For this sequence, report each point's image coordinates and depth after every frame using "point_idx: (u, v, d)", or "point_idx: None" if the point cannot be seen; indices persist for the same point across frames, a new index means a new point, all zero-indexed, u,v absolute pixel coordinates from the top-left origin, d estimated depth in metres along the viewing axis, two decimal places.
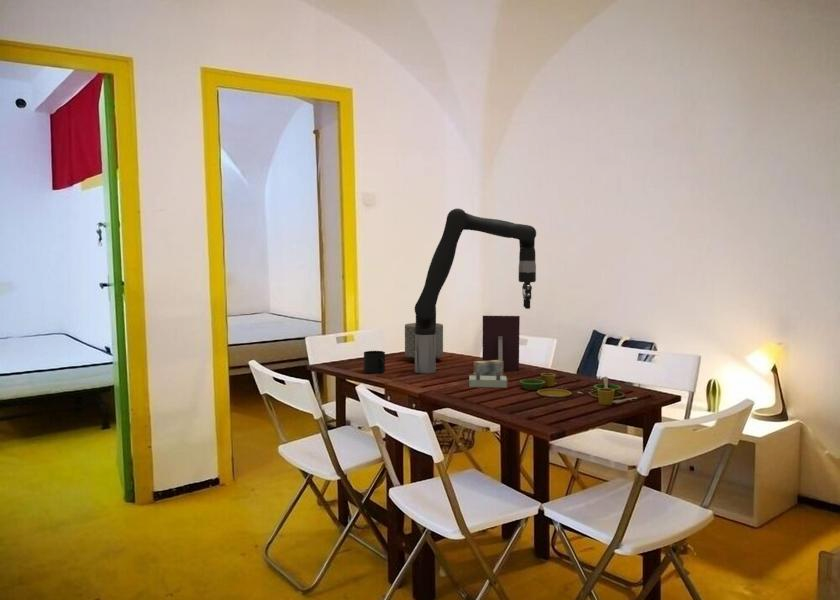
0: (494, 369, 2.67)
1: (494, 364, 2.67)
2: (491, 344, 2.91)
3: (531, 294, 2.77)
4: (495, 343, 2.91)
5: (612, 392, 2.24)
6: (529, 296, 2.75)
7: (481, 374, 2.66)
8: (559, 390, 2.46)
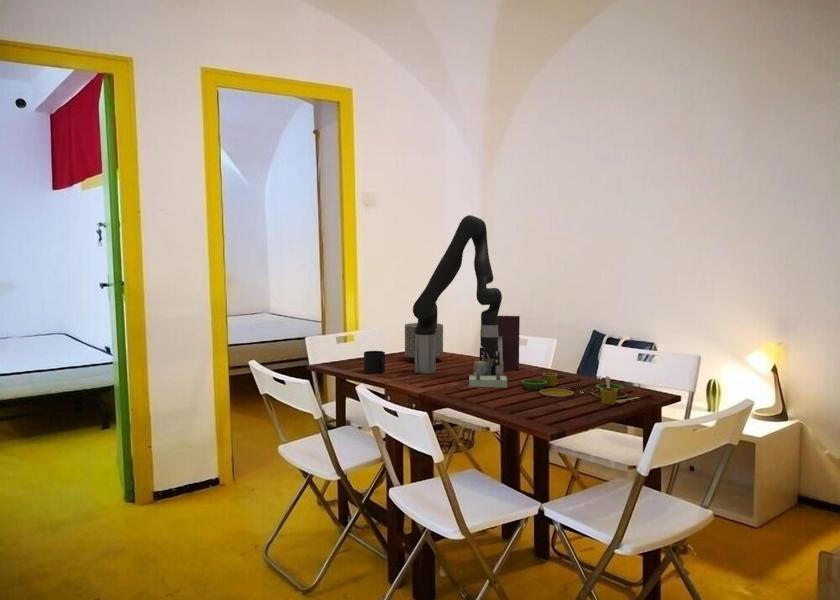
0: None
1: None
2: None
3: (482, 358, 2.72)
4: None
5: (615, 392, 2.24)
6: None
7: (481, 374, 2.66)
8: (561, 390, 2.46)
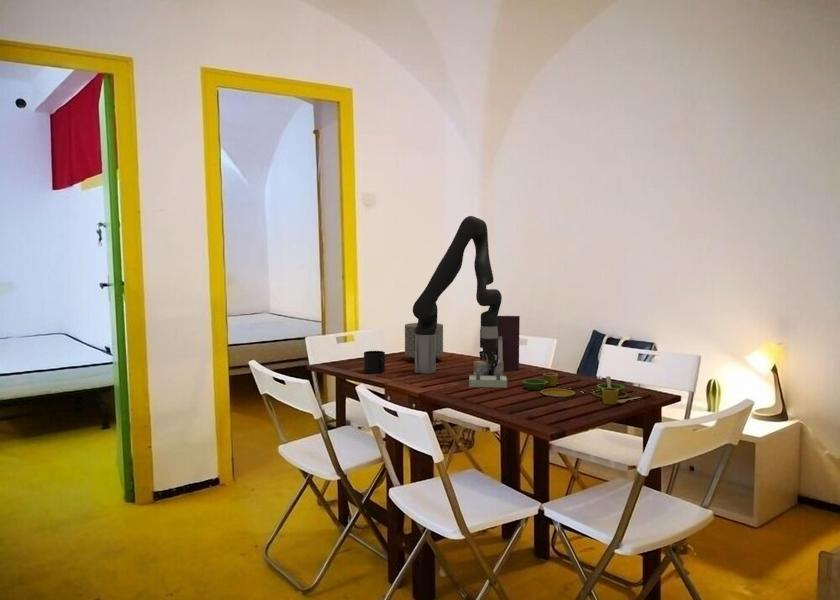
0: (494, 369, 2.67)
1: None
2: None
3: None
4: None
5: (616, 392, 2.24)
6: None
7: (481, 374, 2.66)
8: (562, 390, 2.46)
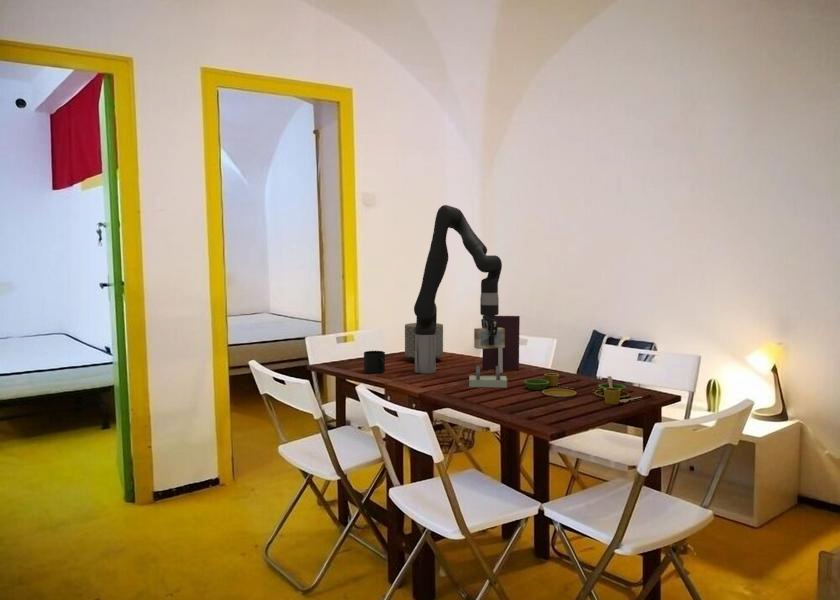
0: (495, 336, 2.64)
1: None
2: None
3: None
4: None
5: (619, 392, 2.24)
6: None
7: (481, 341, 2.62)
8: (564, 390, 2.46)
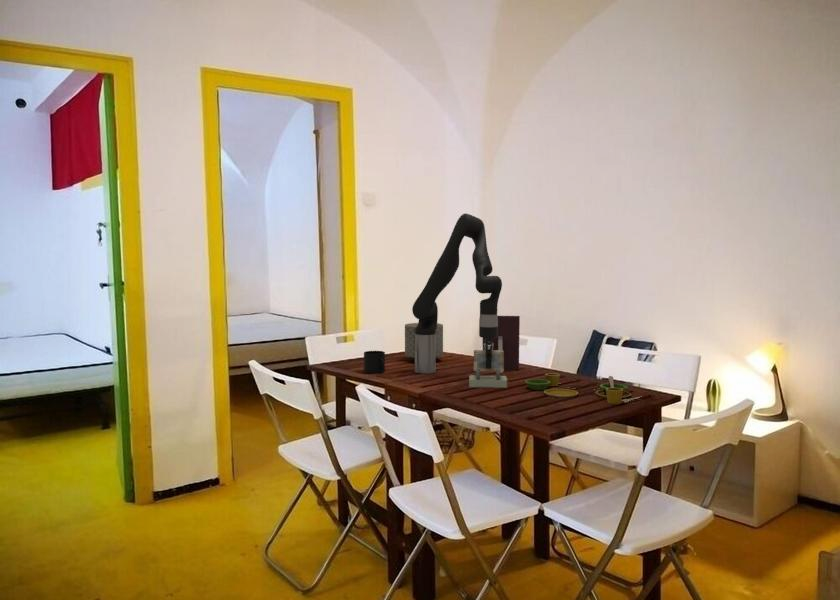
0: (493, 359, 2.55)
1: (493, 354, 2.55)
2: None
3: None
4: (495, 343, 2.91)
5: (621, 391, 2.25)
6: None
7: (478, 363, 2.56)
8: (565, 390, 2.46)
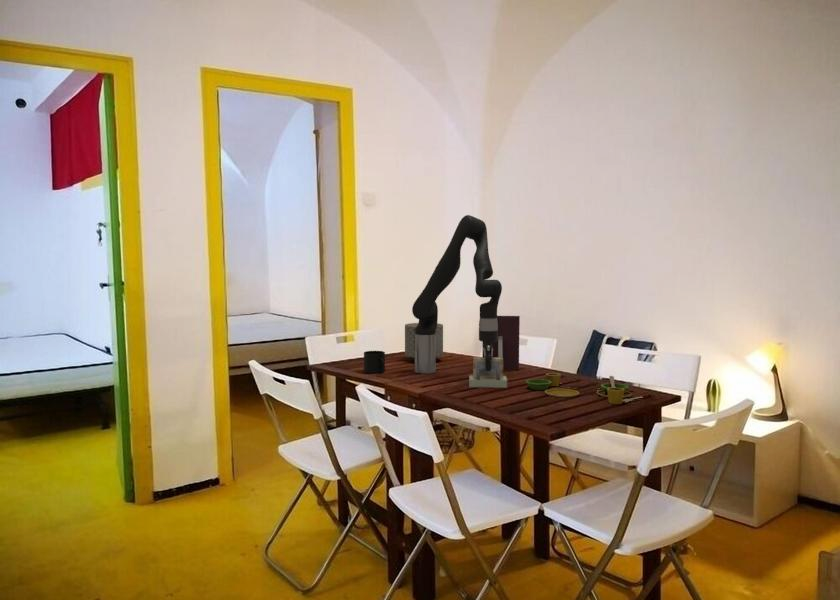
0: (492, 366, 2.56)
1: (492, 361, 2.55)
2: (491, 344, 2.91)
3: None
4: (495, 343, 2.91)
5: (622, 391, 2.25)
6: None
7: None
8: (566, 390, 2.46)
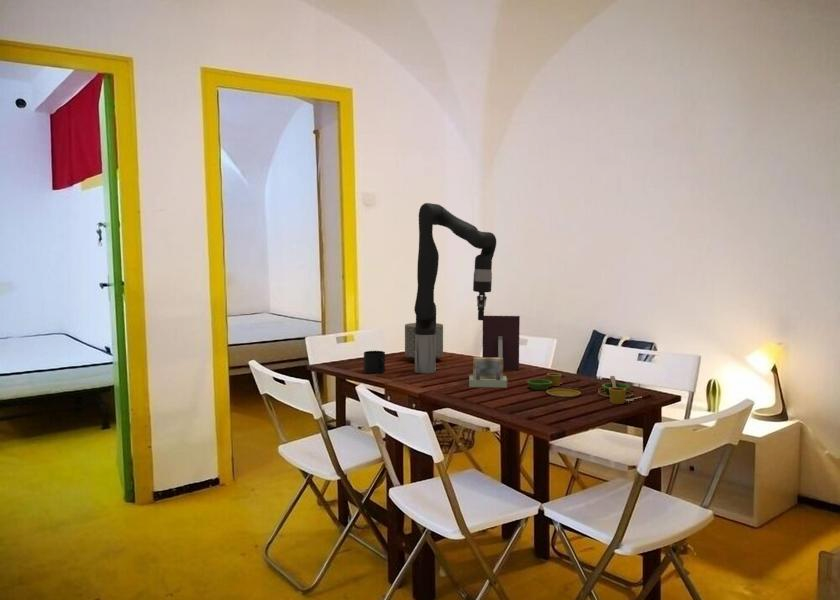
0: (492, 366, 2.56)
1: (492, 361, 2.55)
2: (491, 344, 2.91)
3: None
4: (495, 343, 2.91)
5: (624, 391, 2.25)
6: None
7: None
8: (567, 390, 2.47)
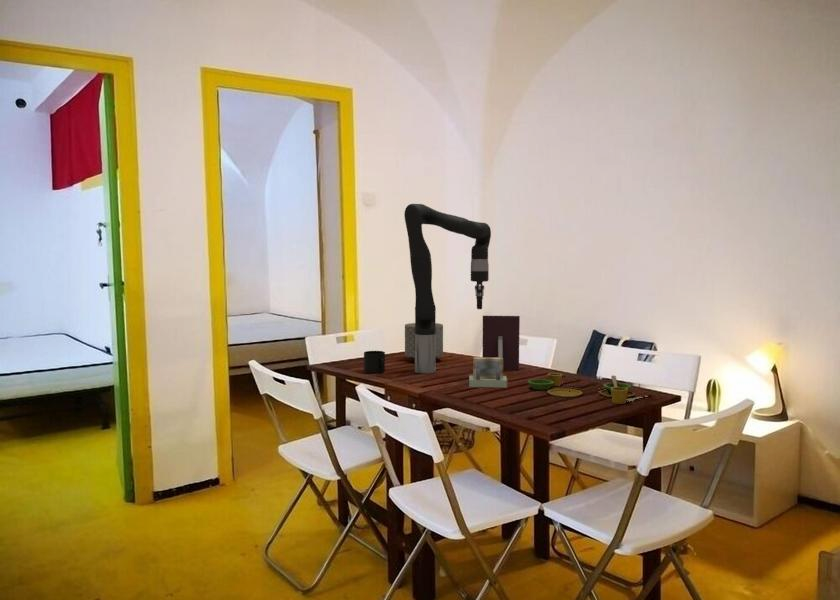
0: (492, 366, 2.56)
1: (492, 361, 2.55)
2: (491, 344, 2.91)
3: None
4: (495, 343, 2.91)
5: (626, 391, 2.25)
6: None
7: None
8: (568, 390, 2.47)
